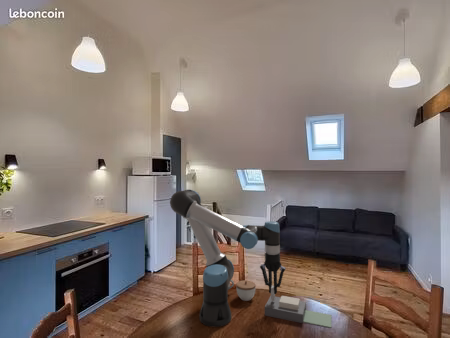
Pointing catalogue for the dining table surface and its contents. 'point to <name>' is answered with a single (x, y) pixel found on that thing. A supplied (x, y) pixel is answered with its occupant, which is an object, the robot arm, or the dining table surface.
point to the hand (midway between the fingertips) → (273, 299)
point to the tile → (289, 302)
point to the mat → (317, 318)
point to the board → (285, 311)
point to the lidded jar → (245, 289)
